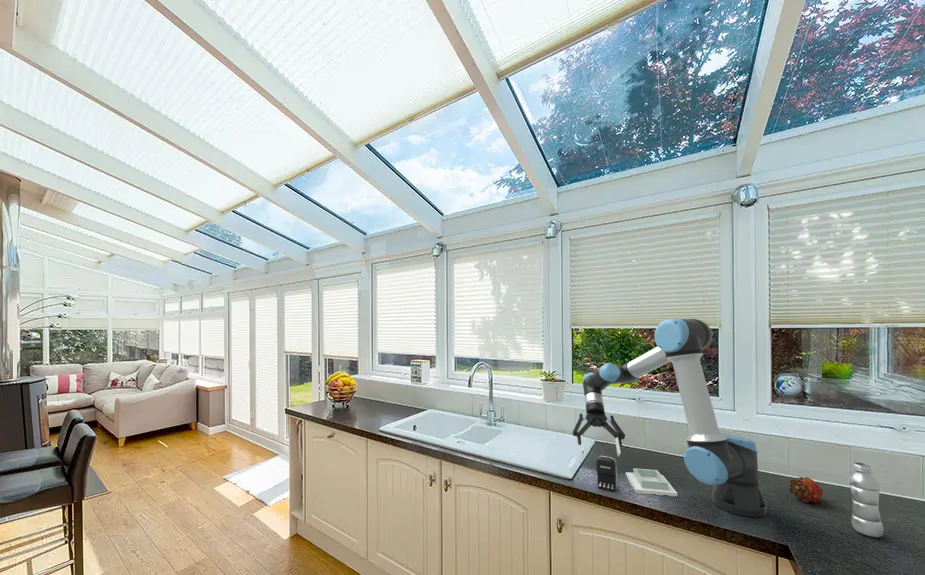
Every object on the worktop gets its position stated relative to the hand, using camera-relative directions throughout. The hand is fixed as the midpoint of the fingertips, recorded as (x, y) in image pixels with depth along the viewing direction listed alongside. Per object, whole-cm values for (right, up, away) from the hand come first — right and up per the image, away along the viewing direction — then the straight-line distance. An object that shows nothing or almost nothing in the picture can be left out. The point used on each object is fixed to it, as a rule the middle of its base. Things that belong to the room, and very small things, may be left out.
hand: (601, 453), depth 146 cm
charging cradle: (+17, -10, -4) cm, 21 cm away
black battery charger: (-1, -10, -7) cm, 13 cm away
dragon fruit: (+67, -10, -15) cm, 70 cm away
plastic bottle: (+66, -8, -36) cm, 76 cm away
